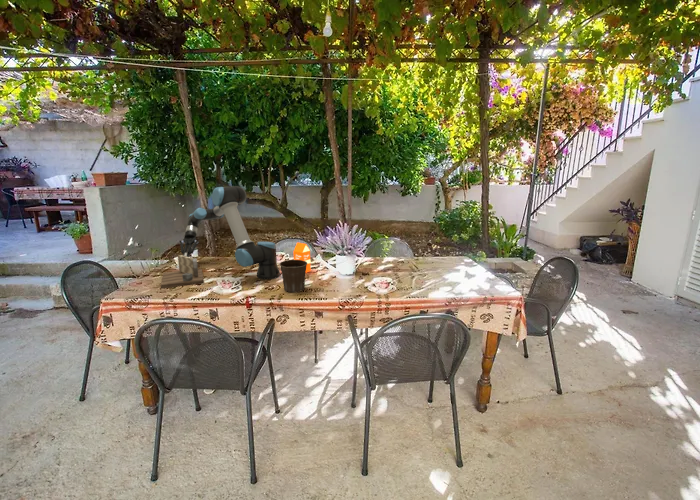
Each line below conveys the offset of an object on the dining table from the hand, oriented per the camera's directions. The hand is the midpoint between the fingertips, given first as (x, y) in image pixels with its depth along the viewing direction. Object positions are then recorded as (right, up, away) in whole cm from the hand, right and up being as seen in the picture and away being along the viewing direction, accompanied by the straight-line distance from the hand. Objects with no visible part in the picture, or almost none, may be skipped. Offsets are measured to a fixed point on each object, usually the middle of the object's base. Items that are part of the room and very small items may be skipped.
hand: (184, 261), depth 250 cm
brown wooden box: (+4, -11, -12) cm, 17 cm away
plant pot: (+79, -16, -31) cm, 87 cm away
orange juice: (+80, -7, +5) cm, 80 cm away
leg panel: (+5, -7, -8) cm, 12 cm away
